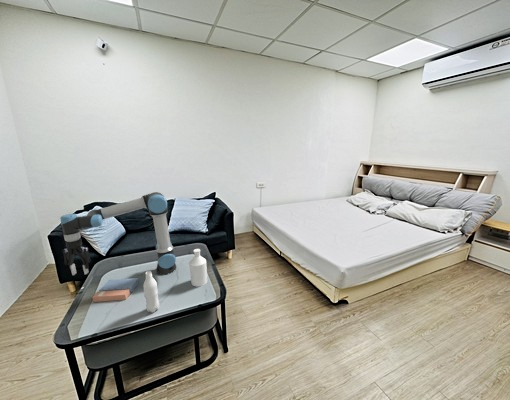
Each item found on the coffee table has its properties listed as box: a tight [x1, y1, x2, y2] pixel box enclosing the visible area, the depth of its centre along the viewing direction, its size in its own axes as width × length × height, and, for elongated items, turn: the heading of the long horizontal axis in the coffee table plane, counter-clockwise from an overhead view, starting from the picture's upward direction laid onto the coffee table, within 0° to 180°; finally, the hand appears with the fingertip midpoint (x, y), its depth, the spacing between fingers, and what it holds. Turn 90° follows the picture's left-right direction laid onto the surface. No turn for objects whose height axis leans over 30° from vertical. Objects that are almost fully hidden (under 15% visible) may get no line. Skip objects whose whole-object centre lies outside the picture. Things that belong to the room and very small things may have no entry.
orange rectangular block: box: [92, 289, 131, 303], centre depth 140 cm, size 20×6×4 cm, turn 95°
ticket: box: [98, 277, 139, 294], centre depth 150 cm, size 20×12×4 cm, turn 95°
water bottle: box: [142, 270, 160, 314], centre depth 127 cm, size 7×7×25 cm
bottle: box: [188, 248, 208, 288], centre depth 154 cm, size 12×12×25 cm
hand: (80, 273), depth 135 cm, fingers open, 6 cm apart
